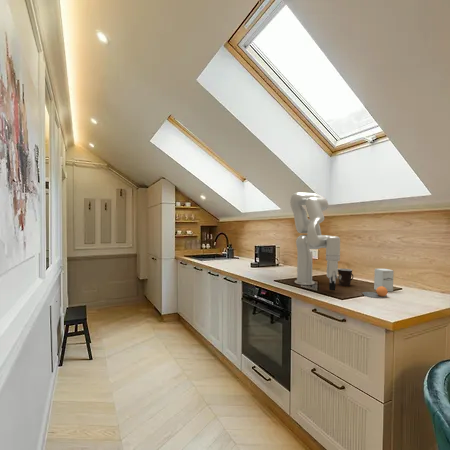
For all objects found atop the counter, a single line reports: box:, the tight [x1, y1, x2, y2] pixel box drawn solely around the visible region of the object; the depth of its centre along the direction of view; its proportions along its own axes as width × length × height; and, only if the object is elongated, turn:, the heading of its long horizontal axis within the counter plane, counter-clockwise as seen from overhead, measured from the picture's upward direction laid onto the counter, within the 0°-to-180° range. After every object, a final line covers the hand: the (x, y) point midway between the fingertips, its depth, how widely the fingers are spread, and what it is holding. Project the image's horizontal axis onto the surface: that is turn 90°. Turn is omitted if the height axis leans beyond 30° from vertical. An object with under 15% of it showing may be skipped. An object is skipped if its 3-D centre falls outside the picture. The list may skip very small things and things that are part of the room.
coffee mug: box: [338, 268, 354, 287], centre depth 186 cm, size 12×9×10 cm
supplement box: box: [373, 268, 395, 293], centre depth 174 cm, size 7×7×13 cm
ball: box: [375, 286, 388, 297], centre depth 160 cm, size 6×6×6 cm
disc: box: [361, 291, 388, 299], centre depth 163 cm, size 13×13×1 cm
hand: (332, 289), depth 167 cm, fingers closed
